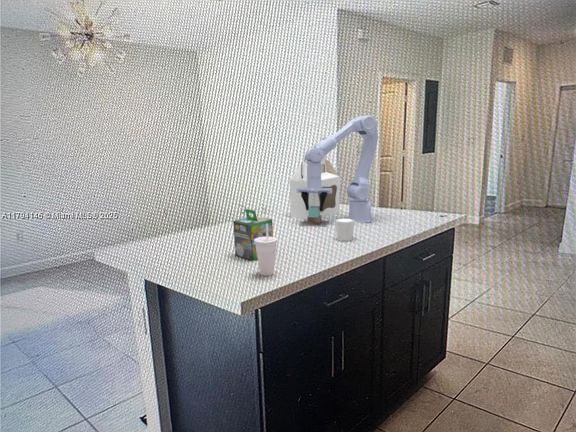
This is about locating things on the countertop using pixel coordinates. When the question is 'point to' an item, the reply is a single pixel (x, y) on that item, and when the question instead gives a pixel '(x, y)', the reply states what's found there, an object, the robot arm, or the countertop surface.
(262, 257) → the smoothie
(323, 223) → the build mat
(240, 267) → the countertop surface
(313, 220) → the walnut block
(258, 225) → the green carry carton
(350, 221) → the white cylinder
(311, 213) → the teal cube
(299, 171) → the gable box
